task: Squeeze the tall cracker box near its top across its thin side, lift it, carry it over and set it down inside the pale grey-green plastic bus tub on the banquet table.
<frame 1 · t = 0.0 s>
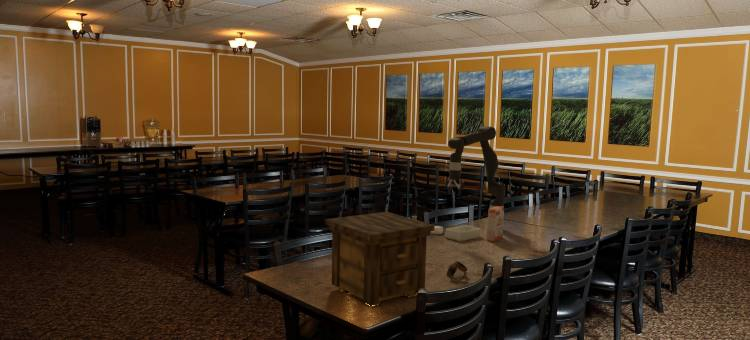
hand: (454, 193, 340), 29 cm above the table, fingers open, 8 cm apart
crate: (377, 293, 239), on the table
cracker box: (494, 239, 343), on the table
pottery mug: (455, 276, 265), on the table
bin: (463, 237, 346), on the table
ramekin: (436, 233, 357), on the table
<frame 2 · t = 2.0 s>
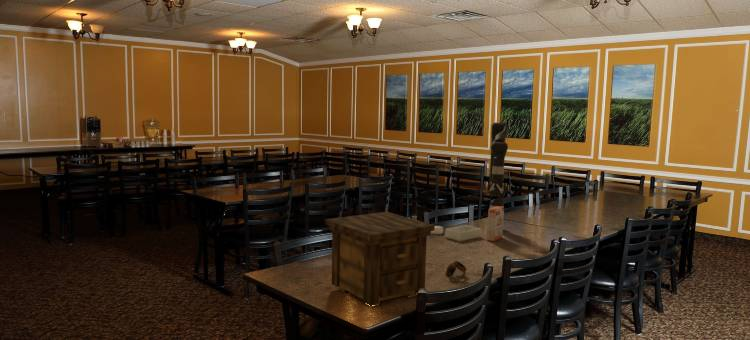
hand: (496, 197, 340), 27 cm above the table, fingers open, 8 cm apart
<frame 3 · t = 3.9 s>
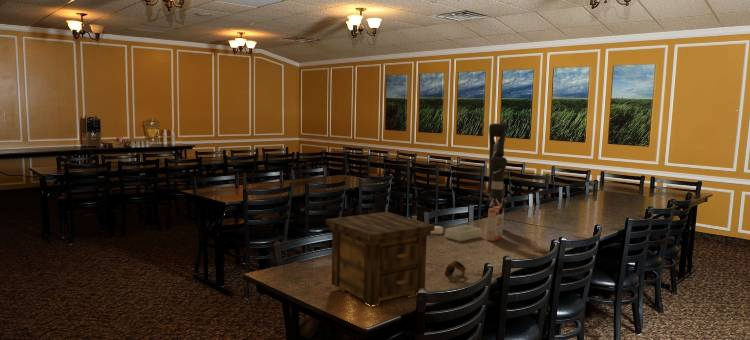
hand: (496, 213, 341), 17 cm above the table, fingers closed on cracker box, 6 cm apart
cracker box: (494, 239, 343), on the table, touching gripper
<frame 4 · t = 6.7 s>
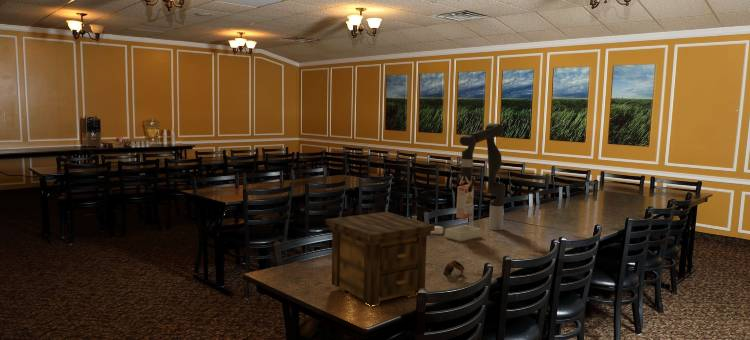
hand: (465, 191, 342), 31 cm above the table, fingers closed on cracker box, 6 cm apart
cracker box: (464, 217, 344), point 13 cm above the table, touching gripper
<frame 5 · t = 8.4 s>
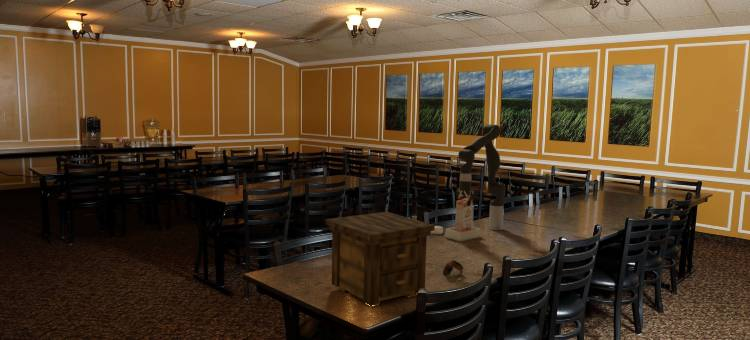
hand: (464, 205, 343), 22 cm above the table, fingers closed on cracker box, 6 cm apart
cracker box: (463, 231, 345), point 4 cm above the table, touching gripper
when the fingers open (19 cm above the table, at t = 10.0 s): cracker box drops 1 cm, resting on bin.
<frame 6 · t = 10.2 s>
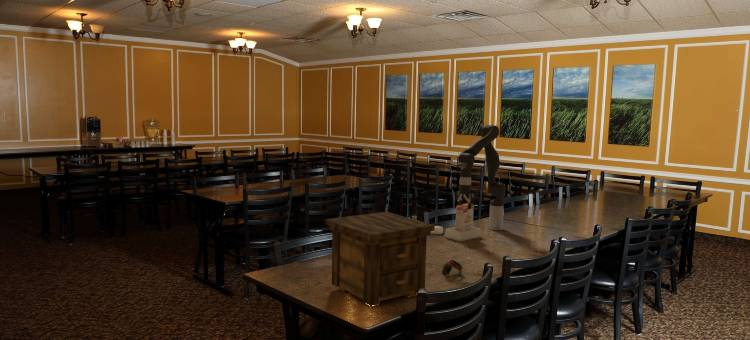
hand: (464, 208, 343), 20 cm above the table, fingers open, 8 cm apart
cracker box: (463, 236, 346), point 1 cm above the table, touching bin
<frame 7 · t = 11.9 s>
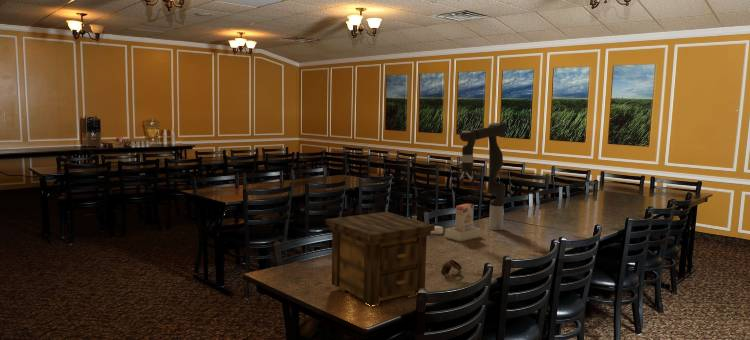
hand: (466, 185, 346), 34 cm above the table, fingers open, 8 cm apart
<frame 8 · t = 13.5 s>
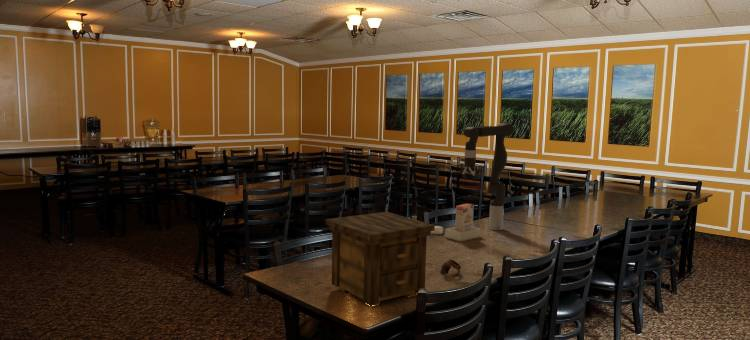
hand: (469, 180, 354), 36 cm above the table, fingers open, 8 cm apart
at the end: cracker box inside the target area on the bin (0.1 cm from its centre), point 0.6 cm above the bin's base; the gripper is holding nothing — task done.
